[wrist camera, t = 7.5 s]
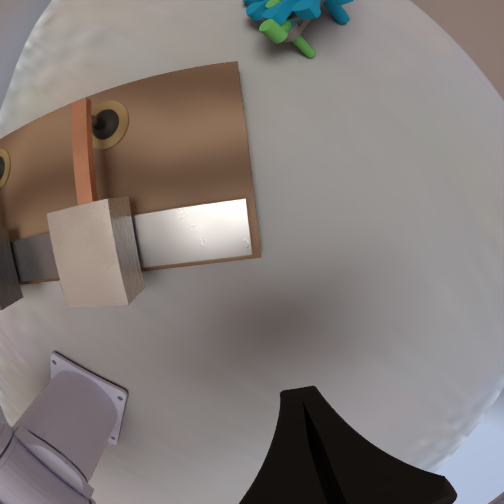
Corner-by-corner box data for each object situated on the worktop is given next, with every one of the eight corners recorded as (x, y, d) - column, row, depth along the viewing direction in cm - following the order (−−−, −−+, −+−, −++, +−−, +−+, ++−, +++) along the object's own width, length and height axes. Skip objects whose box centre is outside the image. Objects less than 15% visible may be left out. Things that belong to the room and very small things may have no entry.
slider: (149, 282, 16) (128, 305, 13) (95, 287, 16) (68, 308, 13) (126, 100, 14) (100, 83, 10) (72, 118, 14) (41, 108, 10)
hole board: (259, 251, 18) (261, 258, 16) (12, 281, 18) (0, 287, 16) (237, 70, 16) (237, 59, 14) (-5, 150, 16) (-18, 149, 14)
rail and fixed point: (253, 268, 17) (256, 292, 13) (6, 292, 17) (-24, 309, 13) (231, 83, 14) (227, 53, 10) (-13, 164, 14) (-47, 164, 10)
